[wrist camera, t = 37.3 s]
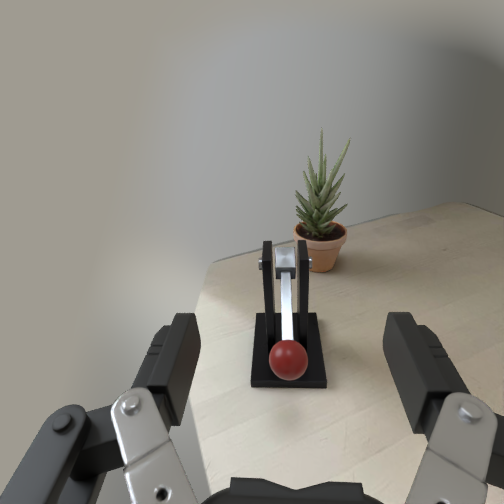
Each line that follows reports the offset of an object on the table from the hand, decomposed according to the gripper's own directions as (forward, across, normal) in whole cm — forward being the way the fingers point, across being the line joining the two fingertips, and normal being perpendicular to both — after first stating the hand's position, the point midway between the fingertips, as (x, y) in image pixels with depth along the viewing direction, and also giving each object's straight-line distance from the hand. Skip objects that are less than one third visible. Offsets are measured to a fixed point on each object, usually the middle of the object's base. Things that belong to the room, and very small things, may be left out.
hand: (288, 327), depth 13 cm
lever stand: (+20, 0, +24) cm, 32 cm away
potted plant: (+42, -6, +24) cm, 49 cm away
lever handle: (+16, 0, +14) cm, 21 cm away
